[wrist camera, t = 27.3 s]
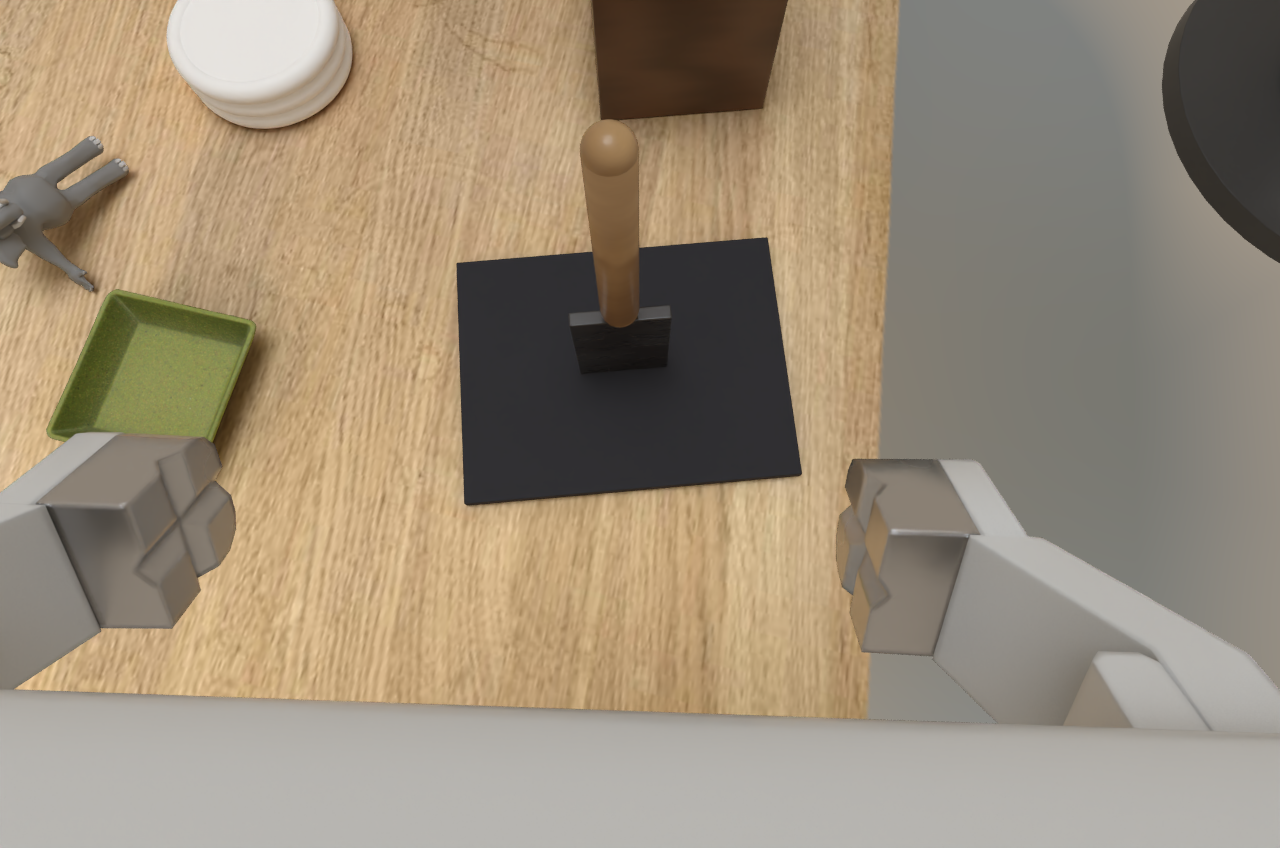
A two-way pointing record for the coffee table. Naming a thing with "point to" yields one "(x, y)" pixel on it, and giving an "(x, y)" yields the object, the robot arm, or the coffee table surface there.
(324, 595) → the coffee table surface
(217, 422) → the green square dish
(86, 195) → the elephant figurine
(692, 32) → the open box
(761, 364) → the mat
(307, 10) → the white round tub
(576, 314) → the spatula
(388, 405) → the coffee table surface
